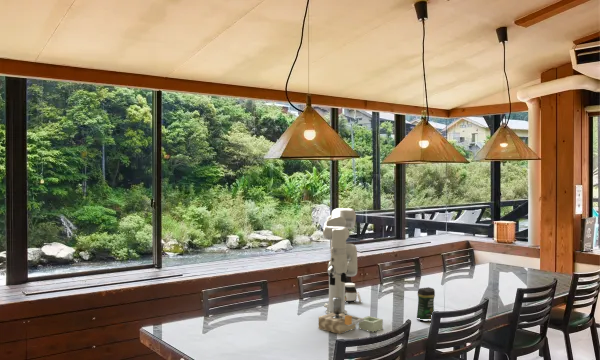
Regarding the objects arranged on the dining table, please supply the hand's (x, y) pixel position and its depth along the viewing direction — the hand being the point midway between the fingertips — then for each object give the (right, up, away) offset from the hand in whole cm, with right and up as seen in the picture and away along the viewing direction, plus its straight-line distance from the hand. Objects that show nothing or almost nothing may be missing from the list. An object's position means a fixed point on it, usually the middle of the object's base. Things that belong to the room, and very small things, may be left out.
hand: (338, 283), depth 259 cm
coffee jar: (+52, -25, +19) cm, 60 cm away
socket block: (-1, -24, 0) cm, 24 cm away
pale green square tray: (+17, -24, +1) cm, 30 cm away
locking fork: (+5, -18, -10) cm, 21 cm away
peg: (-1, -24, 0) cm, 24 cm away
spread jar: (+14, -25, +59) cm, 66 cm away
